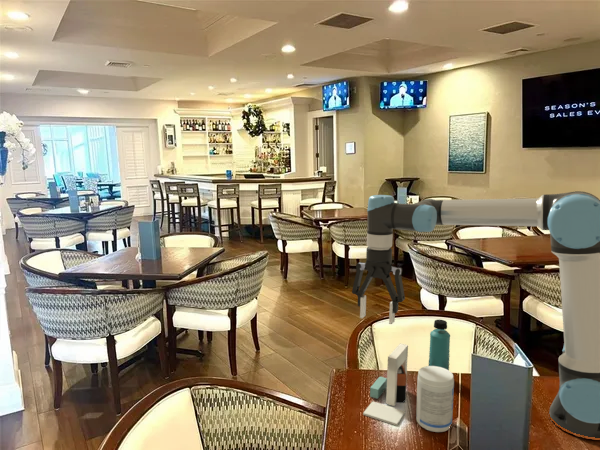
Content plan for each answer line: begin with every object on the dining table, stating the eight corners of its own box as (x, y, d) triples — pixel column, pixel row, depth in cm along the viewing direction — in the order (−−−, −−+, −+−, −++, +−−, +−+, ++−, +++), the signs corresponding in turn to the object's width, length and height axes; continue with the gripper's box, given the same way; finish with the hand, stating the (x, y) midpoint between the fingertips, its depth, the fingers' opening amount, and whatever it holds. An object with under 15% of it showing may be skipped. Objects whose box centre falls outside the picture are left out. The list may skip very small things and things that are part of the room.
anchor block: (386, 387, 142) (387, 378, 142) (377, 398, 135) (378, 389, 135) (379, 385, 143) (379, 376, 143) (370, 396, 137) (370, 387, 136)
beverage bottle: (451, 383, 144) (454, 324, 141) (430, 383, 145) (433, 324, 141) (445, 373, 151) (448, 317, 148) (425, 373, 151) (428, 317, 148)
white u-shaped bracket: (406, 389, 141) (408, 345, 138) (394, 406, 131) (396, 359, 129) (398, 387, 142) (400, 343, 139) (386, 403, 133) (387, 356, 130)
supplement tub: (459, 430, 120) (462, 379, 118) (427, 436, 118) (430, 384, 115) (438, 410, 129) (441, 363, 127) (409, 415, 127) (411, 367, 124)
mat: (405, 413, 128) (405, 411, 128) (397, 425, 122) (397, 423, 122) (372, 403, 133) (372, 401, 133) (363, 414, 127) (363, 412, 127)
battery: (401, 391, 140) (402, 361, 138) (405, 403, 133) (407, 372, 132) (387, 391, 140) (388, 361, 138) (391, 403, 133) (392, 371, 132)
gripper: (418, 249, 130) (415, 322, 134) (351, 241, 141) (350, 309, 145) (410, 253, 124) (407, 331, 128) (341, 245, 135) (340, 316, 139)
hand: (377, 319), depth 136 cm, fingers open, 9 cm apart
